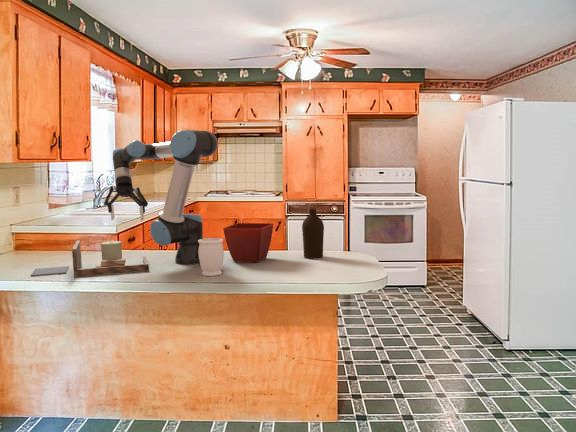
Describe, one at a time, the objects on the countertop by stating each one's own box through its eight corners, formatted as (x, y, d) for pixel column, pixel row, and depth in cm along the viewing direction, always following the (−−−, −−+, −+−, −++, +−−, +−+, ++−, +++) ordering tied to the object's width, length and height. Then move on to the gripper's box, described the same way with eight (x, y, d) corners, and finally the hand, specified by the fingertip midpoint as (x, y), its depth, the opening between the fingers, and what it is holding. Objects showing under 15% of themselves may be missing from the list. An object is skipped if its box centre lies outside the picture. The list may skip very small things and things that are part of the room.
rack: (146, 260, 254) (144, 236, 253) (148, 270, 230) (147, 244, 229) (78, 265, 245) (76, 240, 243) (73, 277, 221) (72, 249, 219)
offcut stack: (129, 269, 235) (129, 257, 235) (130, 271, 230) (129, 259, 230) (94, 272, 231) (94, 260, 230) (94, 274, 226) (93, 262, 225)
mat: (68, 267, 241) (68, 266, 241) (65, 273, 227) (65, 272, 227) (35, 270, 236) (35, 268, 236) (30, 276, 223) (30, 275, 223)
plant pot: (223, 263, 244) (222, 227, 242) (239, 255, 262) (238, 222, 260) (261, 264, 239) (260, 228, 237) (274, 257, 257) (274, 223, 255)
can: (102, 269, 234) (100, 243, 233) (101, 266, 243) (100, 240, 241) (123, 267, 237) (122, 242, 236) (122, 264, 246) (120, 239, 245)
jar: (199, 277, 215) (198, 242, 213) (198, 272, 225) (197, 238, 223) (225, 276, 217) (224, 240, 215) (223, 270, 227) (222, 237, 225)
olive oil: (312, 260, 247) (311, 208, 244) (298, 257, 255) (297, 206, 252) (328, 257, 254) (328, 206, 251) (314, 254, 262) (313, 205, 259)
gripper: (146, 184, 257) (151, 222, 250) (94, 181, 244) (98, 221, 236) (151, 176, 252) (156, 216, 244) (98, 173, 238) (102, 214, 230)
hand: (127, 219), depth 240 cm, fingers open, 13 cm apart
